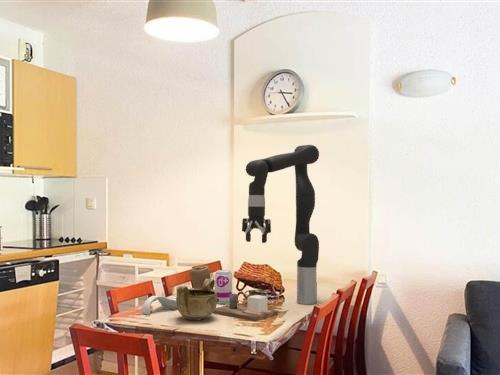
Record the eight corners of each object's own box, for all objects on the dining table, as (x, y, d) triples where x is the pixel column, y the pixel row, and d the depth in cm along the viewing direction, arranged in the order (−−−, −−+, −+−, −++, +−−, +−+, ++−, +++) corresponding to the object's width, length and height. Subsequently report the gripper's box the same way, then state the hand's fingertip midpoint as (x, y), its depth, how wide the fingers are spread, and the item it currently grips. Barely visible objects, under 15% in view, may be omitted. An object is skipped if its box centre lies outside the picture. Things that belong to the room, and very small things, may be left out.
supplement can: (229, 304, 243) (230, 272, 243) (212, 304, 245) (212, 271, 245) (233, 301, 251) (234, 270, 251) (217, 300, 252) (217, 269, 253)
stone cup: (184, 296, 262) (184, 266, 263) (198, 293, 272) (199, 264, 273) (209, 299, 254) (209, 269, 255) (222, 296, 265) (223, 266, 265)
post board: (234, 306, 238) (234, 290, 239) (277, 314, 224) (277, 296, 224) (210, 312, 226) (210, 295, 226) (255, 321, 211) (255, 302, 211)
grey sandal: (170, 304, 244) (170, 289, 244) (190, 307, 238) (191, 291, 238) (134, 313, 223) (135, 296, 223) (156, 317, 217) (156, 300, 217)
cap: (255, 309, 225) (256, 294, 225) (267, 310, 221) (267, 296, 221) (247, 311, 220) (247, 296, 220) (258, 313, 216) (258, 298, 216)
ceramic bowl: (195, 311, 228) (196, 276, 229) (228, 316, 220) (229, 280, 220) (162, 321, 209) (163, 283, 209) (197, 327, 200) (198, 287, 201)
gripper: (274, 205, 231) (274, 242, 230) (248, 205, 239) (248, 240, 239) (264, 205, 225) (264, 243, 224) (238, 205, 233) (238, 241, 233)
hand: (256, 242), depth 232 cm, fingers open, 8 cm apart
